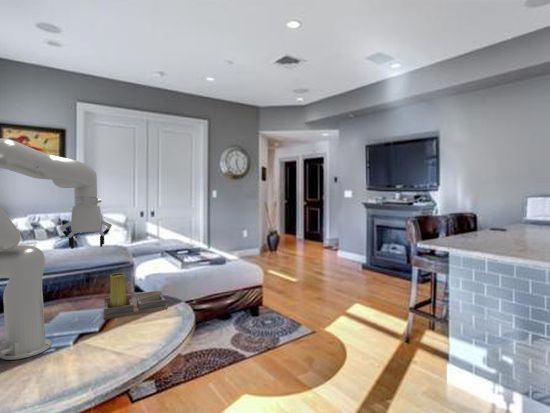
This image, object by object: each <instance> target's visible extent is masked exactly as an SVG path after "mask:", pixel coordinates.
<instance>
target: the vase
mask: <svg viewBox="0 0 550 413" xmlns="http://www.w3.org/2000/svg"><path fill="white" fill-rule="evenodd" d="M125 275H126V274H125V273H124V272H116V273H115V272H114V273H112V274H110V275H109V278H110V280H109V281H110V284H109V285H110V297H111V308H114V307H120V306H126V305H127V302H126V295H127V292H126V278H125V277H126V276H125Z"/></svg>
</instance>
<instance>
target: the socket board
mask: <svg viewBox="0 0 550 413" xmlns="http://www.w3.org/2000/svg"><path fill="white" fill-rule="evenodd" d="M135 294H136V303H133V299H132V293H129V294H126V302H127V305H126V306H120V307H114V308H111V296H108V297H104V308H103V310H102V311H103V320H111V319H116V318H123V317H128V316H129V317H130V316H135V315H140V314H147V313H152V312H159V311H165V310H168V305H167V303H166V299H165V297H164V296H163V292H162V289H158V290H157V289H156V290H150V291H143V292H136V293H135Z"/></svg>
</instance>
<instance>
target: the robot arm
mask: <svg viewBox="0 0 550 413" xmlns="http://www.w3.org/2000/svg"><path fill="white" fill-rule="evenodd" d="M0 169H3V170H8V171H11V172H14V173H17V174H20V175H24V176H27V177H28V178H29V177H30V178H33V179H39V180H51V181H52V183H53V184H54V185H55V186H57V187H59V188H60V189H74V205H73V206H72V207H71V208H72V210H71V218H70V221H68V222H67V223H64V224H63V225H61V226H59V229H60V231H62V232H61V233H63V234H64V236H66V238H68V247H70V249H72V250H73V249H75V238H74V235H75V234H77V233H94V232H97V233H98V234H99V235H100V236H99V247H100V248H102V247H103V245H105V236H106V235H107V234H108V233H109V232H110V230H111V228H112V226H113V225H112V223H109V222H107V221H104V220H102V211H101V206H100V205H98V204H100V203H102V199H101V198H98V182H97V181H98V177H97V176H98V175H97V171H95V170H94V169H93V168H92V167H91V166H90V165H88V164H86V163H83V162H81V161H79V160H76V159H72V158H67V157H63V156H59V155H58V156H57V155H54V154H49V153H46V152H43V151H39V150H38V149H35V148H32V147H30V146H28V145H26V144H24V143H21V142H18V141H17V140H13V139H9V138H3V137H2V138H0ZM103 225H104V226H106V228H105V230H104V231H103V230H102V229H103V228H102V227H103ZM68 227H70V229H71V232H69V231H68V230H67V229H66V228H68ZM20 241H21V234H20V231H19V228H17V226H16V225H15V223H14V222H13V221H12V220H11V219H10V217H9V216H8V214H6V212H5V211H4V210H3V208H2V207H1V206H0V279H3V278H4V279H5V278H6V279H8V282H7V284H6V286H5V288H4V290H3V296H2V298H3V301H2V302H3V314H4V315H3V316H4V317H3V318H4V331H5V332H4V333H5V334H4V336H5V339H4V340H2V341H1V344H0V359H2V360H6V361H7V360H8V361H9V360H10V361H12V360H13V361H14V360H21V359H26V358H30V357H34V356H36V355H39V354H41V353H43V352H45V351H47V350H48V349H49V348H51V347H52V340H51V339H48V338H46V333H45V332H46V331H45V330H46V329H45V314H44V313H45V312H44V311H45V310H44V296H43V295H44V294H43V276H44V270H45V263H46V257H45V253H43V251H42V250H41V249H40V248H38V247H37V246H34V245H27V244H24V245H23V244H20ZM19 244H20V245H19Z"/></svg>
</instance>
